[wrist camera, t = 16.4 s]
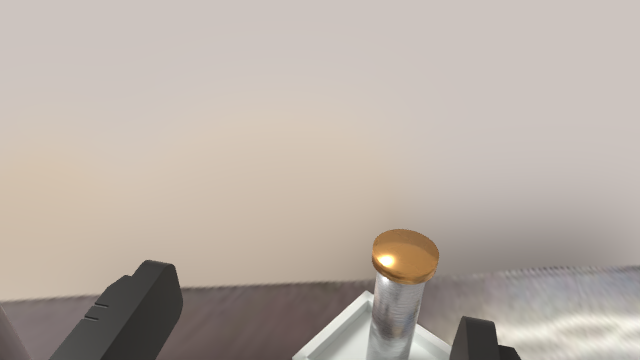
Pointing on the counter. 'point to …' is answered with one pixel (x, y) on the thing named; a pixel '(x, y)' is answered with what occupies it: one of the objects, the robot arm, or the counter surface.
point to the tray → (364, 337)
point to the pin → (398, 291)
